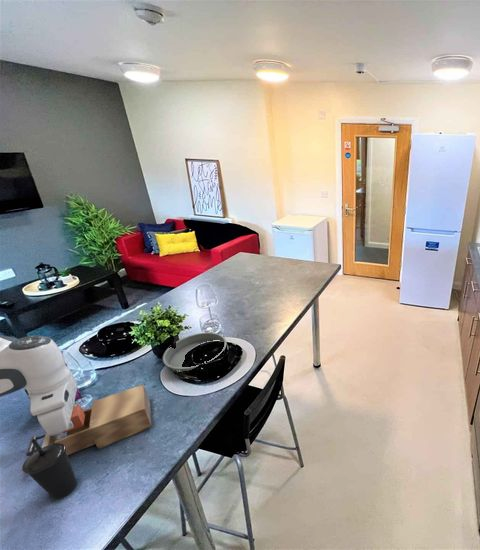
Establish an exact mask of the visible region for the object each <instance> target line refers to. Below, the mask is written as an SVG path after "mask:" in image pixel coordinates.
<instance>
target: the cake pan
mask: <svg viewBox="0 0 480 550" xmlns="http://www.w3.org/2000/svg"><path fill="white" fill-rule="evenodd" d="M213 340H220V341H223V342H224V347H223V349H222V351H221V352H220V353H219V354H218V355H216V356H215V357H214V358H212V359H211V360H209V361H207V362H210V361H212V360H214V359H215V358H217V357H218V356H219V355H220V354H221V353H222V352H223V351H224V352H225V349H226V347H227V343H228V342H227V339H226V338H225V337H224V336H223V335H222V334H220V333H217V332H199V333H194V334H190V335H188V336H184V337H183V338H180V339H179V340H176V341H175V342H176V348H175V349H174V348H172V347H170V346H169V347H170V348H169V347H167V349H166V350H165V351H164V353H163V355H162V362H163V364H164V365H165V366H166V367H168V368H169V369H171V370H172V371H173V372H175V373H177V372H176V371H175V370H178V371H179V370H180V371H189V370H192V369H194V368H196V367H198V366H199V365H196V366H191V367H182V364H183V362H184V360H185V355H186V354H187V352H188V351H190V350H191V349H192V348H194V347H195V346H196V345H198V344H201V343H203V342H207V341H213ZM204 363H206V362H204ZM202 364H203V363H202Z"/></svg>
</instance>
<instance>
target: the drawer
mask: <svg viewBox="0 0 480 550" xmlns="http://www.w3.org/2000/svg"><path fill="white" fill-rule="evenodd" d="M82 410H83V412H84V414H85V420H84V426H82V427H79V428H76V429H74V430H71V431H68V432H66V434H65V435H66V436H64V433H59V434H56V435H49V434H47V432H46V431H45V433H44V434H42V435H34V436H32V437H31V438H30V441H29V445H28V447H27V450H26V453H25V457H30V456H31V455H32V454H33V453H35V452H36V451H37V449H36V448H35V446H34V445H33V443H32V440H33V439H36V441H37V442H38V440H41V439H43V438H44V439H43V441H42V445H41V446H40V447H41V448H43V447H46V446H48V445H51V444H56V443H61V444H64V445H65V447H66V454H67V456H69V455H72V454H74V453H76V452H77V453H78V452H80V451H82V450H84V449H87V448H89V447H91V446H94V445H96V444H95V442H94V440H93V438H92V436H91V434H90V432H89V424H90V417H91V410H92V406H91V407H88V408H87V409H82ZM63 436H64V437H63Z"/></svg>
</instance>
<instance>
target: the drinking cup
mask: <svg viewBox="0 0 480 550" xmlns="http://www.w3.org/2000/svg"><path fill="white" fill-rule="evenodd" d="M32 443H33V445H34V446H35V449H37V451H36V452H35V453H33V454H32V455H31V456H28V457H27V458H26V460H24V462H23V464H22V467H21V471H22V472H23V473H24V474H27V475H29V477H30V478H32V479H33V481H35V482H36V483H37V484H38V485H39V486H40V487H41V488H42V489H43V490H44V491H45V492H46V493H47V494H48V495H49V496H50V497H51V498H53V500H60V499H64V498H65V497H67V496H69V495H71V494H72V493H73V491H75V490H76V488H77V485H78V481H77V478H76V475H75V473H74V471H73V467H72V464H71V463H70V460H69V457H68V455H67V454H66V447H65V445H64V444H61V443H56V444H51V445H48V446H46V447H43V448H41V447H42V446H41V445H40V444H39V442H38V440H37V441H36V439H33V440H32Z"/></svg>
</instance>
